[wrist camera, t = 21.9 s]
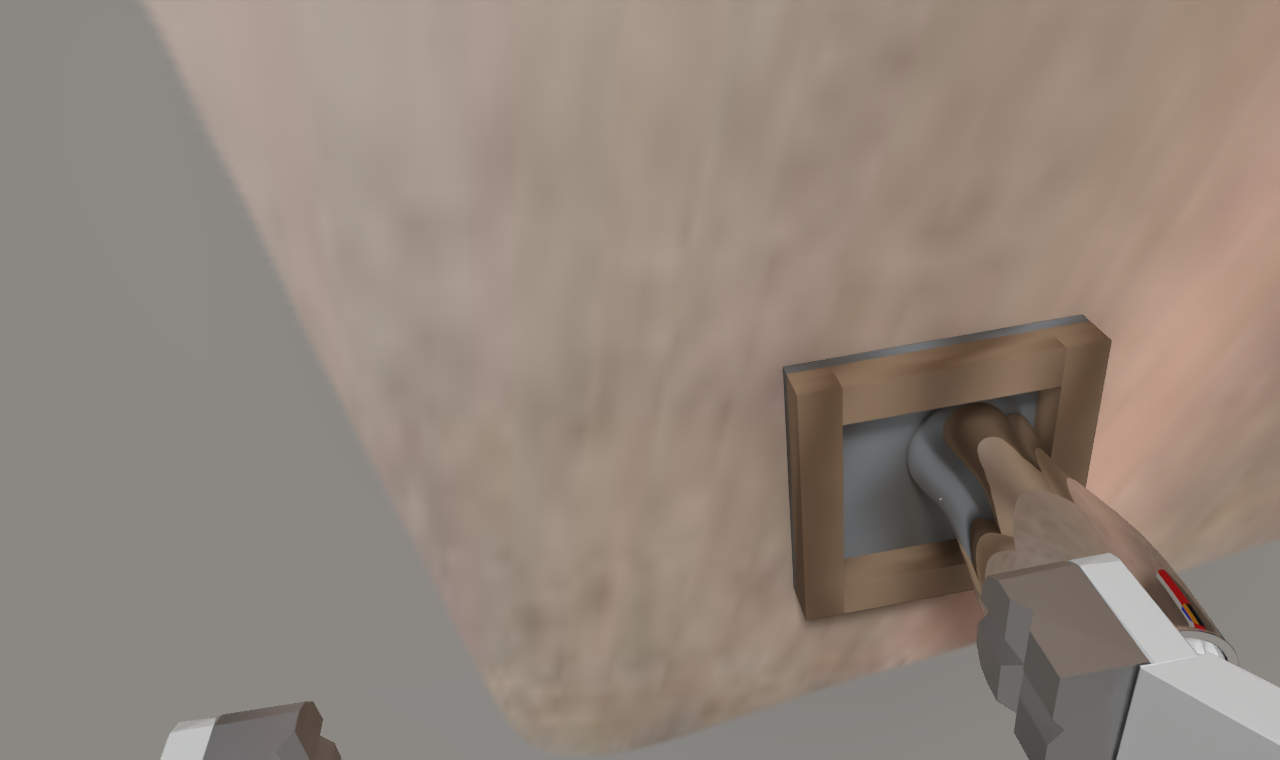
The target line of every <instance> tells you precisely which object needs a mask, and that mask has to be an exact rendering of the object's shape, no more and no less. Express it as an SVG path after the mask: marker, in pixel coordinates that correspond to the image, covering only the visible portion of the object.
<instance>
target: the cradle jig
mask: <svg viewBox="0 0 1280 760" xmlns="http://www.w3.org/2000/svg"><path fill="white" fill-rule="evenodd" d="M1111 341H1112V340H1111V339H1109V338H1108V337H1107V336H1106V335H1105V334H1104V333H1103V332H1102V331H1100V330H1099V329H1098V328H1097V327H1096V326H1095V325H1094V324H1093V323H1092V322H1090V321H1089V320H1088V319H1087V318H1086V317H1085V316H1084V315H1077V316H1072V317H1066V318H1060V319H1054V320H1049V321H1043V322H1037V323H1032V324H1026V325H1020V326H1014V327H1009V328H1003V329H997V330H992V331H986V332H980V333H974V334H969V335H963V336H957V337H952V338H946V339H940V340H934V341H929V342H923V343H917V344H912V345H906V346H900V347H894V348H889V349H883V350H877V351H872V352H866V353H860V354H854V355H849V356H843V357H837V358H832V359H826V360H820V361H814V362H809V363H803V364H797V365H792V366H786V367H783V377H784V397H785V418H786V438H787V459H788V479H789V500H790V520H791V541H792V561H793V582H794V589H795V592H796V594H797V597H798V600H799V603H800V605H801V608H802V611H803V614H804V616H805V619H806V621H807V620H812V619H818V618H823V617H828V616H834V615H839V614H844V613H850V612H855V611H861V610H866V609H871V608H877V607H882V606H888V605H893V604H898V603H904V602H909V601H915V600H920V599H925V598H931V597H936V596H941V595H947V594H952V593H958V592H963V591H968V590H974V589H973V586H972V583H971V580H970V577H969V575H968V572H967V569H966V566H965V563H964V560H963V557H962V553H961V550H960V547H959V545H958V542H957V539H956V536H955V534H954V531H953V529H952V527H951V525H950V523H949V521H948V519H947V518H946V516H945V515H944V513H943V512H942V510H941V509H940V508H939V507H938V506H937V505H936V504H935V503H934V502H933V501H932V500H931V499H930V498H929V497H928V496H927V495H926V494H925V493H924V492H923V491H922V490H921V489H920V488H919V487H918V485H917V484H916V483H915V482H914V480H913V479H912V477H911V475H910V472H909V469H908V464H907V454H908V448H909V445H910V442H911V440H912V438H913V436H914V434H915V432H916V431H917V429H918V428H919V427H920V425H921V424H922V423H923V422H924V421H925V420H926V419H927V418H928V417H929V416H930V415H931V414H933V413H934V412H935V411H937V410H938V409H939V408H943V407H948V406H954V405H959V404H965V403H971V402H976V401H982V400H988V399H993V398H999V397H1005V398H1007V399H1009V400H1011V401H1013V402H1014V403H1016V404H1017V405H1018V406H1019V407H1020V408H1021V409H1022V410H1023V411H1024V413H1025V414H1026V416H1027V418H1028V419H1029V421H1030V424H1031V426H1032V428H1033V430H1034V432H1035V435H1036V437H1037V439H1038V441H1039V443H1040V445H1041V446H1042V448H1043V449H1044V451H1045V452H1046V453H1047V455H1048V456H1049V457H1050V458H1051V459H1052V460H1053V461H1054V462H1055V463H1056V464H1057V465H1058V466H1059V467H1060V468H1061V469H1062V470H1064V471H1065V472H1066V473H1067V474H1068V475H1070V476H1071V477H1072V478H1073V479H1075V480H1076V481H1077V482H1079V483H1080V484H1081V485H1083V486H1084V487H1085V488H1086V482H1087V476H1088V471H1089V465H1090V460H1091V454H1092V448H1093V443H1094V437H1095V431H1096V426H1097V420H1098V414H1099V409H1100V403H1101V397H1102V392H1103V386H1104V381H1105V375H1106V369H1107V364H1108V358H1109V352H1110V347H1111Z"/></svg>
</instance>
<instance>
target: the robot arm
mask: <svg viewBox="0 0 1280 760" xmlns="http://www.w3.org/2000/svg"><path fill="white" fill-rule="evenodd" d="M981 600H982V601H983V603H984V605H985V607H986V608H987V610H988V613H987V615H986V616H985V617H984V618H983V619H982V620H981V621H980V622H979V623H978V631H977V648H978V653H979V658H980V664H981V667H982V670H983V673H984V675H985V678H986V680H987V683H988V685H989V687H990V689H991V690H992V692H993V694H994V696H995V698H996V700H997V701H998V702H1000V703H1001V704H1003V705H1004V706H1006V707H1008V708H1009V709H1011V710H1012V711H1014V712H1016V713H1017V715H1016V722H1015V729H1014V733H1015V735H1016V737H1017V739H1018V740H1019V742H1020V744H1021V746H1022V748H1023V749H1024V751H1025V753H1026V755H1027V757H1028V758H1029V760H1280V688H1279V687H1277V686H1275V685H1273V684H1271V683H1269V682H1267V681H1265V680H1263V679H1261V678H1260V677H1258V676H1256V675H1254V674H1252V673H1250V672H1248V671H1246V670H1243V669H1242V668H1240V667H1238V666H1236V665H1234V664H1232V663H1230V662H1228V661H1226V660H1224V659H1222V658H1220V657H1218V656H1216V655H1214V654H1212V653H1207V654H1200V655H1198V654H1197V653H1196V651H1195V650H1194V649H1193V648H1192V646H1191V645H1190V644H1189V643H1188V642H1187V640H1186V639H1185V638H1184V637H1183V636H1182V634H1181V633H1180V632H1179V631H1178V629H1177V628H1176V627H1175V626H1174V625H1173V623H1172V622H1171V621H1170V620H1169V618H1168V617H1167V616H1166V615H1165V614H1164V612H1163V611H1162V610H1161V609H1160V608H1159V606H1158V605H1157V604H1156V603H1155V601H1154V600H1153V599H1152V598H1151V597H1150V595H1149V594H1148V593H1147V592H1146V591H1145V589H1144V588H1143V587H1142V586H1141V584H1140V583H1139V582H1138V581H1137V580H1136V578H1135V577H1134V576H1133V575H1132V573H1131V572H1130V571H1129V570H1128V569H1127V567H1126V566H1125V565H1124V564H1123V563H1122V561H1121V560H1120V559H1119V558H1118V557H1116V556H1114V555H1113V554H1111V553H1105V554H1100V555H1094V556H1089V557H1084V558H1078V559H1073V560H1069V561H1059V562H1054V563H1049V564H1044V565H1039V566H1034V567H1029V568H1024V569H1018V570H1013V571H1008V572H1003V573H998V574H993V575H988V576H987V577H986V579H985V580H984V582H983V584H982V592H981ZM322 721H323V719H322V717H321V715H320V713H319V711H318V709H317V708H316V706H315V704H314V702H300V703H293V704H287V705H281V706H274V707H268V708H261V709H256V710H249V711H243V712H236V713H230V714H223V715H220V716H214V717H207V718H202V719H196V720H189V721H184V722H179V724H178V725H177V726H176V727H175V728H174V729H173V731H172V732H171V733H170V735H169V736H168V739H167V741H166V744H165V747H164V750H163V752H162V755H161V758H160V760H341V756H340V754H339V752H338V749H337V748H336V745H335V743H334V742H332V741H330V740H328V739H326V738H324V737H322V736H320V732H321V727H322Z"/></svg>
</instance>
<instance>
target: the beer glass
mask: <svg viewBox="0 0 1280 760" xmlns="http://www.w3.org/2000/svg"><path fill="white" fill-rule="evenodd" d="M907 464H908V469H909V472H910V475H911V477H912V479H913V480H914V482H915V483H916V484H917V485H918V487H919V488H920V489H921V490H922V491H923V492H924V493H925V494H926V495H927V496H928V497H929V498H930V499H931V500H932V501H933V502H934V503H935V504H936V505H937V506H938V507H939V508H940V509H941V510H942V512H943V513H944V515H945V516H946V518H947V519H948V521H949V523H950V525H951V527H952V529H953V531H954V534H955V536H956V539H957V542H958V545H959V547H960V550H961V553H962V557H963V560H964V563H965V566H966V569H967V572H968V575H969V577H970V580H971V583H972V586H973V589H974V592H975V595H976V597H977V600H978V602H979V604H980V607H981V609H982V612H983V614H984V617H985V616H986V615H987V613H988V610H987V608H986V607H985V605H984V603H983V601H982V600H981V592H982V584H983V582H984V580H985V579H986V577H987V576H988V575H993V574H998V573H1003V572H1008V571H1013V570H1018V569H1024V568H1029V567H1034V566H1039V565H1044V564H1049V563H1054V562H1059V561H1069V560H1073V559H1078V558H1084V557H1089V556H1094V555H1100V554H1105V553H1111V554H1113V555H1114V556H1116V557H1118V558H1119V559H1120V560H1121V561H1122V563H1123V564H1124V565H1125V566H1126V567H1127V569H1128V570H1129V571H1130V572H1131V573H1132V575H1133V576H1134V577H1135V578H1136V580H1137V581H1138V582H1139V583H1140V584H1141V586H1142V587H1143V588H1144V589H1145V591H1146V592H1147V593H1148V594H1149V595H1150V597H1151V598H1152V599H1153V600H1154V601H1155V603H1156V604H1157V605H1158V606H1159V608H1160V609H1161V610H1162V611H1163V612H1164V614H1165V615H1166V616H1167V617H1168V618H1169V620H1170V621H1171V622H1172V623H1173V625H1174V626H1175V627H1176V628H1177V629H1178V631H1179V632H1180V633H1181V634H1182V636H1183V637H1184V638H1185V639H1186V640H1187V642H1188V643H1189V644H1190V645H1191V646H1192V648H1193V649H1194V650H1195V651H1196V653H1197V654H1198V655H1200V654H1207V653H1212V654H1214V655H1216V656H1218V657H1220V658H1222V659H1224V660H1226V661H1228V662H1230V663H1232V664H1234V665H1236V666H1238V667H1239V662H1238V657H1237V654H1236V652H1235V650H1234V649H1233V647H1232V646H1231V645H1230V644H1229V643H1228V642H1227V641H1226V640H1225V639H1224V637H1223V636H1222V634H1221V633H1220V632H1219V630H1218V629H1217V628H1216V627H1215V625H1214V624H1213V622H1212V621H1211V619H1210V618H1209V616H1208V615H1207V613H1206V612H1205V610H1204V609H1203V608H1202V606H1201V605H1200V604H1199V602H1198V601H1197V599H1196V598H1195V597H1194V595H1193V594H1192V593H1191V591H1190V590H1189V589H1188V587H1187V586H1186V585H1185V583H1184V582H1183V581H1182V580H1181V578H1180V577H1179V576H1178V575H1177V573H1176V572H1175V571H1174V570H1173V568H1172V567H1171V566H1170V565H1169V564H1168V562H1167V561H1166V560H1165V559H1164V558H1163V557H1162V555H1161V554H1160V553H1159V552H1158V551H1157V550H1156V549H1155V548H1154V547H1153V546H1152V545H1151V544H1150V543H1149V542H1148V540H1147V539H1146V538H1145V537H1144V536H1143V535H1142V534H1141V533H1140V532H1139V531H1137V530H1136V529H1135V528H1134V527H1133V526H1132V525H1131V524H1130V523H1128V522H1127V521H1126V520H1125V519H1124V518H1123V517H1122V516H1120V515H1119V514H1118V513H1117V512H1116V511H1115V510H1113V509H1112V508H1111V507H1109V506H1108V505H1107V504H1106V503H1104V502H1103V501H1102V500H1101V499H1099V498H1098V497H1097V496H1096V495H1094V494H1093V493H1092V492H1090V491H1089V490H1088V489H1086V488H1085V487H1084V486H1083V485H1081V484H1080V483H1079V482H1077V481H1076V480H1075V479H1073V478H1072V477H1071V476H1070V475H1068V474H1067V473H1066V472H1065V471H1064V470H1062V469H1061V468H1060V467H1059V466H1058V465H1057V464H1056V463H1055V462H1054V461H1053V460H1052V459H1051V458H1050V457H1049V456H1048V455H1047V453H1046V452H1045V451H1044V449H1043V448H1042V446H1041V445H1040V443H1039V441H1038V439H1037V437H1036V435H1035V432H1034V430H1033V428H1032V426H1031V424H1030V421H1029V419H1028V418H1027V416H1026V414H1025V413H1024V411H1023V410H1022V409H1021V408H1020V407H1019V406H1018V405H1017V404H1016V403H1014V402H1013V401H1011V400H1009V399H1007V398H1005V397H999V398H993V399H988V400H982V401H976V402H971V403H965V404H959V405H954V406H948V407H943V408H939V409H938V410H937V411H935V412H934V413H933V414H931V415H930V416H929V417H928V418H927V419H926V420H925V421H924V422H923V423H922V424H921V425H920V427H919V428H918V429H917V431H916V432H915V434H914V436H913V438H912V440H911V442H910V445H909V448H908V454H907Z"/></svg>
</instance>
